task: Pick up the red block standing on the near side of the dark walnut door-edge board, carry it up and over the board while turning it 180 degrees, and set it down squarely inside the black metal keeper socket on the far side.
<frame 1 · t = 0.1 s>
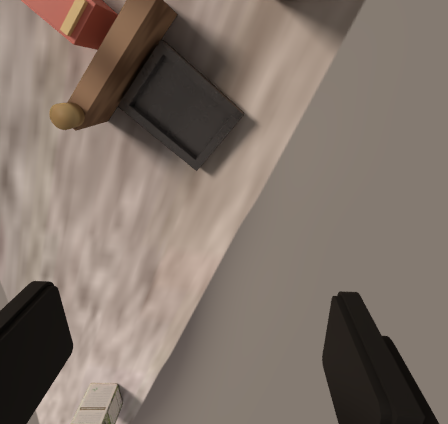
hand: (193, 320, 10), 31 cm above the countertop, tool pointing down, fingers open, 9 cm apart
door board: (133, 65, 36), on the countertop
keeper: (183, 108, 38), on the countertop
red block: (79, 7, 34), on the countertop
syrup box: (107, 391, 60), on the countertop
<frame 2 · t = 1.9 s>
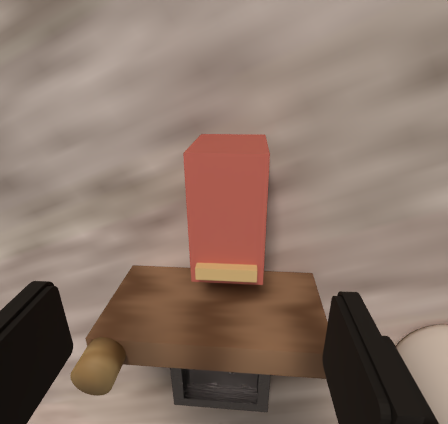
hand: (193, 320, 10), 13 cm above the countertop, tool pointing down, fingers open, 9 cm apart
milk bottle: (434, 352, 27), on the countertop
door board: (220, 279, 26), on the countertop
keeper: (221, 345, 29), on the countertop
red block: (232, 189, 23), on the countertop
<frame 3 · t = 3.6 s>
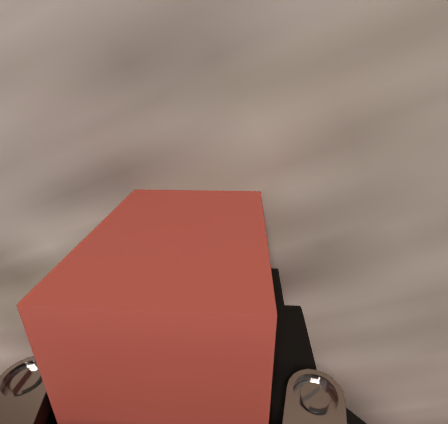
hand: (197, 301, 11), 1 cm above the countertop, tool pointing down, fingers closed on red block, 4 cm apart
red block: (201, 285, 12), on the countertop, touching gripper
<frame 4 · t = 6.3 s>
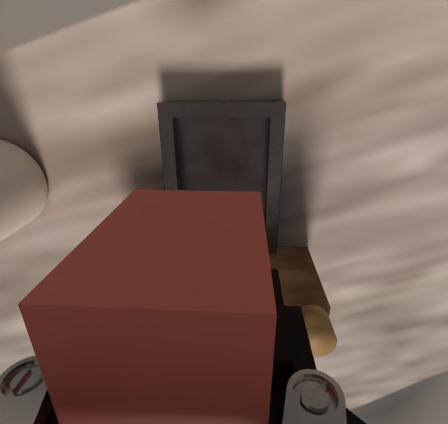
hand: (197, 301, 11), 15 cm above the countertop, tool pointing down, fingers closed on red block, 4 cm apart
milk bottle: (9, 180, 27), on the countertop
door board: (224, 255, 28), on the countertop
keeper: (223, 177, 25), on the countertop
red block: (201, 285, 12), point 14 cm above the countertop, touching gripper
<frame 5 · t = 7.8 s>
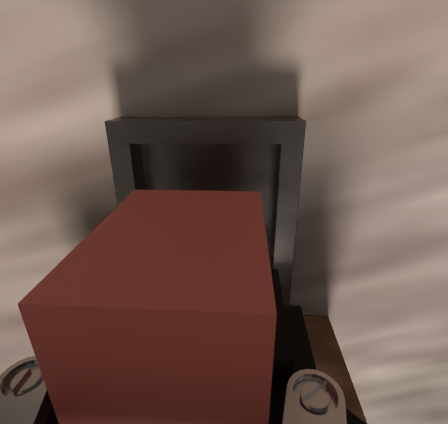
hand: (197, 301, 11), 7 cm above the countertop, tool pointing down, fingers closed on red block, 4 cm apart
door board: (213, 324, 21), on the countertop
keeper: (211, 224, 18), on the countertop
red block: (201, 285, 12), point 6 cm above the countertop, touching gripper
when the fingers open (3 cm above the countertop, at t = 8.9 s): red block drops 2 cm, resting on keeper.
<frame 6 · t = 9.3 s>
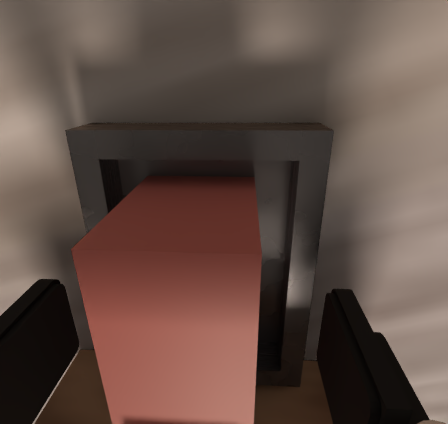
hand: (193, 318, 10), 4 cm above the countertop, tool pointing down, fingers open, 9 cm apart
door board: (211, 368, 17), on the countertop
keeper: (207, 254, 14), on the countertop
red block: (203, 260, 14), resting on keeper
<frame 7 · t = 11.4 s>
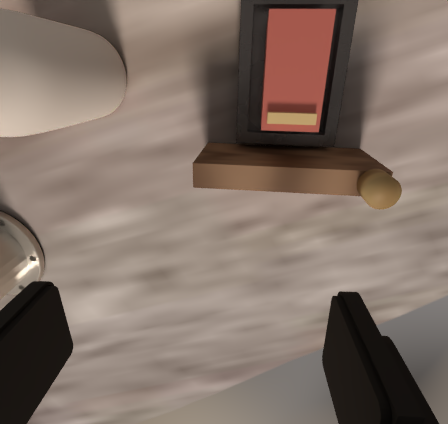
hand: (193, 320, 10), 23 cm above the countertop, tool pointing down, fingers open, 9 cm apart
milk bottle: (91, 76, 30), on the countertop
door board: (281, 155, 31), on the countertop
keeper: (289, 74, 28), on the countertop
red block: (288, 74, 27), resting on keeper
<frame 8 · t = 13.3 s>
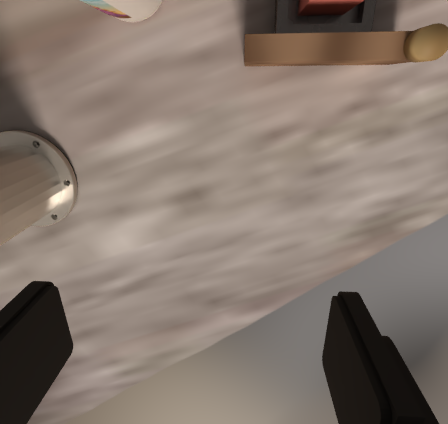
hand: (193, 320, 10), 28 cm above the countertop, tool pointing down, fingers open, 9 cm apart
door board: (316, 54, 32), on the countertop
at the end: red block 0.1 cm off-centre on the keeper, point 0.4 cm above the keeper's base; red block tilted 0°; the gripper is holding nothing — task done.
